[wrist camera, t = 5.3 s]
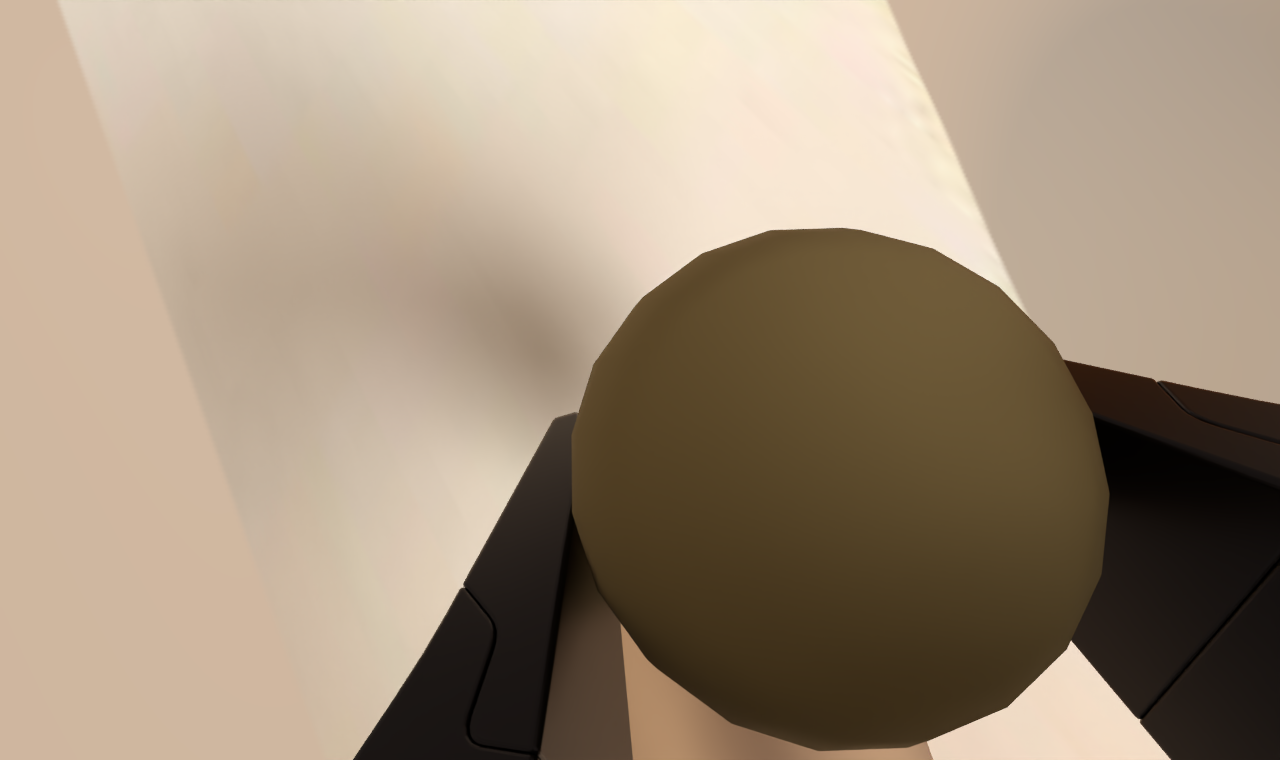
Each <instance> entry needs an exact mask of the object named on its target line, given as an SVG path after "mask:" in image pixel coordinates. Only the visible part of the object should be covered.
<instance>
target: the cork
mask: <svg viewBox="0 0 1280 760" xmlns="http://www.w3.org/2000/svg"><path fill="white" fill-rule="evenodd" d="M571 438H572V514H573V517H574V520H575V523H576V526H577V530H578V533H579V536H580V539H581V542H582V545H583V548H584V551H585V554H586V557H587V560H588V563H589V566H590V569H591V572H592V576H593V579H594V582H595V585H596V588H597V591H598V592H599V593H600V595H601V596H602V598H603V599H604V600H605V602H606V603H607V605H608V606H609V607H610V609H611V610H612V612H613V613H614V614H615V616H616V617H617V619H618V620H619V621H620V623H621V624H622V625H623V627H624V628H625V630H626V631H627V632H628V634H629V635H630V637H631V638H632V639H633V641H634V642H635V644H636V645H637V646H638V648H639V649H640V651H641V652H642V653H643V655H644V656H645V658H646V659H647V660H648V661H649V662H650V663H651V664H652V665H653V666H655V667H656V668H657V669H658V670H659V671H661V672H662V673H663V674H665V675H666V676H667V677H669V678H670V679H671V680H673V681H674V682H675V683H677V684H678V685H680V686H681V687H682V688H684V689H685V690H686V691H688V692H689V693H690V694H692V695H693V696H694V697H696V698H697V699H699V700H700V701H701V702H703V703H704V704H705V705H707V706H708V707H709V708H711V709H712V710H714V711H715V712H716V713H718V714H719V715H720V716H722V717H723V718H724V719H726V720H727V721H728V722H730V723H731V724H734V725H737V726H740V727H743V728H747V729H750V730H753V731H756V732H759V733H762V734H765V735H769V736H772V737H775V738H778V739H781V740H784V741H787V742H791V743H794V744H797V745H800V746H803V747H806V748H810V749H813V750H816V751H840V750H866V749H892V748H909V747H912V746H915V745H917V744H920V743H923V742H926V741H929V740H931V739H934V738H936V737H938V736H941V735H943V734H945V733H948V732H950V731H952V730H955V729H957V728H959V727H962V726H964V725H967V724H969V723H971V722H974V721H976V720H978V719H981V718H983V717H985V716H988V715H990V714H992V713H995V712H997V711H999V710H1002V709H1004V708H1007V707H1008V706H1009V705H1010V704H1011V703H1012V702H1013V701H1014V700H1015V699H1016V698H1017V697H1018V696H1019V695H1020V694H1021V693H1022V692H1023V691H1024V690H1025V689H1026V688H1027V687H1028V686H1029V685H1031V684H1032V683H1033V682H1034V681H1035V680H1036V679H1037V678H1038V677H1039V676H1040V675H1041V674H1042V673H1043V672H1044V671H1045V670H1046V669H1047V668H1048V667H1049V666H1050V665H1051V664H1052V663H1053V662H1054V661H1055V660H1056V659H1057V658H1058V657H1059V656H1060V655H1061V654H1062V653H1063V652H1064V651H1065V650H1066V649H1067V647H1068V645H1069V643H1070V641H1071V639H1072V637H1073V635H1074V632H1075V630H1076V628H1077V626H1078V624H1079V622H1080V620H1081V617H1082V615H1083V613H1084V611H1085V609H1086V607H1087V605H1088V603H1089V600H1090V598H1091V596H1092V594H1093V592H1094V590H1095V588H1096V585H1097V583H1098V581H1099V579H1100V577H1101V574H1102V564H1103V554H1104V544H1105V534H1106V524H1107V514H1108V504H1109V494H1110V493H1109V488H1108V484H1107V479H1106V474H1105V470H1104V465H1103V460H1102V456H1101V451H1100V446H1099V442H1098V437H1097V432H1096V428H1095V423H1094V418H1093V414H1092V412H1091V410H1090V408H1089V406H1088V405H1087V403H1086V401H1085V399H1084V397H1083V395H1082V394H1081V392H1080V390H1079V388H1078V386H1077V384H1076V383H1075V381H1074V379H1073V377H1072V375H1071V373H1070V372H1069V370H1068V368H1067V366H1066V364H1065V362H1064V361H1063V359H1062V357H1061V355H1060V353H1059V351H1058V350H1057V348H1056V346H1055V344H1054V343H1053V342H1052V341H1051V340H1050V339H1049V338H1048V337H1047V335H1046V334H1045V333H1044V332H1043V331H1042V330H1040V328H1038V326H1037V325H1036V324H1035V323H1034V322H1033V321H1032V320H1031V319H1030V318H1029V317H1028V316H1027V315H1026V314H1025V313H1024V312H1023V311H1022V310H1021V309H1020V308H1019V307H1018V306H1017V305H1016V304H1015V303H1014V302H1013V301H1012V300H1011V299H1010V298H1009V297H1008V296H1007V295H1006V294H1005V293H1004V292H1003V291H1002V289H1001V288H1000V287H998V286H997V285H995V284H993V283H991V282H990V281H988V280H986V279H984V278H983V277H981V276H979V275H978V274H976V273H974V272H972V271H971V270H969V269H967V268H966V267H964V266H962V265H960V264H959V263H957V262H955V261H953V260H952V259H950V258H948V257H947V256H945V255H943V254H941V253H940V252H938V251H936V250H935V249H932V248H929V247H925V246H921V245H917V244H913V243H909V242H905V241H901V240H897V239H894V238H890V237H886V236H882V235H878V234H874V233H870V232H866V231H863V230H855V229H847V228H827V229H797V230H770V231H767V232H764V233H761V234H758V235H755V236H752V237H749V238H746V239H743V240H740V241H737V242H734V243H732V244H729V245H726V246H723V247H720V248H717V249H714V250H711V251H708V252H705V253H702V254H701V255H699V256H698V257H697V258H695V259H694V260H693V261H691V262H690V263H688V264H687V265H686V266H684V267H683V268H682V269H680V270H679V271H678V272H676V273H675V274H674V275H672V276H671V277H670V278H668V279H667V280H666V281H664V282H663V283H661V284H660V285H659V286H657V287H656V288H655V289H653V290H652V291H651V292H649V293H648V294H647V295H645V296H644V297H643V298H642V299H641V300H640V301H639V302H638V304H637V305H636V306H635V307H634V308H633V310H632V311H631V313H630V314H629V315H628V317H627V318H626V320H625V321H624V322H623V324H622V325H621V327H620V328H619V329H618V331H617V332H616V334H615V335H614V336H613V338H612V339H611V341H610V342H609V344H608V345H607V346H606V348H605V349H604V351H603V352H602V353H601V355H600V356H599V358H598V359H597V360H596V362H595V363H594V365H593V368H592V371H591V374H590V378H589V381H588V384H587V387H586V390H585V393H584V397H583V400H582V403H581V406H580V409H579V413H578V416H577V419H576V422H575V425H574V429H573V432H572V435H571Z"/></svg>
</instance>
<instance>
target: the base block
mask: <svg viewBox="0 0 1280 760" xmlns="http://www.w3.org/2000/svg"><path fill="white" fill-rule="evenodd" d="M621 634H622V645H623V656H624V667H625V678H626V689H627V700H628V710H629V721H630V732H631V743H632V754H633V760H933V758H932V756H931V753H930V750H929V747H928V744H927V741H926V742H923V743H920V744H917V745H915V746H912V747H909V748H892V749H866V750H840V751H816V750H813V749H810V748H806V747H803V746H800V745H797V744H794V743H791V742H787V741H784V740H781V739H778V738H775V737H772V736H769V735H765V734H762V733H759V732H756V731H753V730H750V729H747V728H743V727H740V726H737V725H734V724H731V723H730V722H728V721H727V720H726V719H724V718H723V717H722V716H720V715H719V714H718V713H716V712H715V711H714V710H712V709H711V708H709V707H708V706H707V705H705V704H704V703H703V702H701V701H700V700H699V699H697V698H696V697H694V696H693V695H692V694H690V693H689V692H688V691H686V690H685V689H684V688H682V687H681V686H680V685H678V684H677V683H675V682H674V681H673V680H671V679H670V678H669V677H667V676H666V675H665V674H663V673H662V672H661V671H659V670H658V669H657V668H656V667H655V666H653V665H652V664H651V663H650V662H649V661H648V660H647V659H646V658H645V656H644V655H643V653H642V652H641V651H640V649H639V648H638V646H637V645H636V644H635V642H634V641H633V639H632V638H631V637H630V635H629V634H628V632H627V631H626V630H625V628H624V627H623V625H622V624H621Z"/></svg>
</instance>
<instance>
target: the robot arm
mask: <svg viewBox="0 0 1280 760" xmlns="http://www.w3.org/2000/svg"><path fill="white" fill-rule="evenodd" d="M1063 361H1064V362H1065V364H1066V366H1067V368H1068V370H1069V372H1070V373H1071V375H1072V377H1073V379H1074V381H1075V383H1076V384H1077V386H1078V388H1079V390H1080V392H1081V394H1082V395H1083V397H1084V399H1085V401H1086V403H1087V405H1088V406H1089V408H1090V410H1091V412H1092V414H1093V418H1094V423H1095V428H1096V432H1097V437H1098V442H1099V446H1100V451H1101V456H1102V460H1103V465H1104V470H1105V474H1106V479H1107V484H1108V488H1109V493H1110V494H1109V504H1108V514H1107V524H1106V534H1105V544H1104V554H1103V564H1102V574H1101V577H1100V579H1099V581H1098V583H1097V585H1096V588H1095V590H1094V592H1093V594H1092V596H1091V598H1090V600H1089V603H1088V605H1087V607H1086V609H1085V611H1084V613H1083V615H1082V617H1081V620H1080V622H1079V624H1078V626H1077V628H1076V630H1075V632H1074V635H1073V637H1072V639H1071V641H1072V642H1073V643H1074V644H1075V645H1076V647H1077V648H1078V649H1079V650H1080V651H1081V653H1082V654H1083V655H1084V656H1085V657H1086V659H1087V660H1088V661H1089V662H1090V663H1091V665H1092V666H1093V667H1094V668H1095V669H1096V670H1097V672H1098V673H1099V674H1100V675H1101V676H1102V678H1103V679H1104V680H1105V681H1106V682H1107V684H1108V685H1109V686H1110V687H1111V688H1112V689H1113V691H1114V692H1115V693H1116V694H1117V695H1118V697H1119V698H1120V699H1121V700H1122V701H1123V703H1124V704H1125V705H1126V706H1127V707H1128V708H1129V710H1130V711H1131V712H1132V713H1133V714H1134V716H1135V717H1136V718H1138V719H1141V720H1140V723H1141V725H1142V726H1143V727H1144V728H1145V729H1146V731H1147V732H1148V733H1149V734H1150V735H1151V736H1152V738H1153V739H1154V740H1155V741H1156V742H1157V744H1158V745H1159V746H1160V747H1161V748H1162V750H1163V751H1164V752H1165V753H1166V754H1167V755H1168V757H1169V758H1170V759H1171V760H1280V404H1275V403H1270V402H1264V401H1258V400H1254V399H1249V398H1244V397H1239V396H1234V395H1229V394H1224V393H1219V392H1214V391H1209V390H1204V389H1199V388H1194V387H1190V386H1185V385H1180V384H1176V383H1171V382H1167V381H1158V382H1156V381H1155V380H1154V379H1152V378H1147V377H1142V376H1137V375H1133V374H1128V373H1124V372H1119V371H1114V370H1109V369H1104V368H1100V367H1095V366H1091V365H1086V364H1081V363H1077V362H1072V361H1067V360H1063ZM577 416H578V413H577V412H574V413H571V414H567V415H564V416H560V417H557V418H555V419H554V420H553V422H552V423H551V425H550V427H549V429H548V431H547V432H546V434H545V436H544V438H543V440H542V441H541V443H540V445H539V447H538V449H537V451H536V452H535V454H534V456H533V458H532V460H531V461H530V463H529V465H528V467H527V469H526V471H525V472H524V474H523V476H522V478H521V480H520V481H519V483H518V485H517V487H516V489H515V490H514V492H513V494H512V496H511V498H510V500H509V501H508V503H507V505H506V507H505V509H504V510H503V512H502V514H501V516H500V518H499V520H498V521H497V523H496V525H495V527H494V529H493V530H492V532H491V534H490V536H489V538H488V539H487V541H486V543H485V545H484V547H483V549H482V550H481V552H480V554H479V556H478V558H477V559H476V561H475V563H474V565H473V567H472V568H471V570H470V572H469V574H468V576H467V578H466V579H465V581H464V583H463V585H464V587H465V588H461V589H460V590H459V592H458V593H457V595H456V597H455V599H454V601H453V602H452V604H451V606H450V608H449V610H448V612H447V613H446V615H445V617H444V618H443V620H442V622H441V624H440V625H439V627H438V629H437V630H436V632H435V634H434V636H433V637H432V639H431V641H430V642H429V644H428V646H427V648H426V649H425V651H424V653H423V654H422V656H421V657H420V659H419V661H418V662H417V664H416V665H415V667H414V668H413V670H412V671H411V673H410V675H409V676H408V678H407V679H406V681H405V682H404V684H403V685H402V687H401V688H400V690H399V692H398V693H397V695H396V696H395V698H394V699H393V701H392V702H391V704H390V705H389V707H388V708H387V710H386V711H385V713H384V714H383V716H382V717H381V719H380V720H379V722H378V723H377V725H376V726H375V728H374V729H373V731H372V732H371V734H370V735H369V737H368V738H367V740H366V741H365V743H364V744H363V746H362V747H361V749H360V750H359V752H358V753H357V754H356V756H355V757H354V759H353V760H633V754H632V743H631V732H630V721H629V710H628V700H627V689H626V678H625V667H624V656H623V645H622V634H621V623H620V621H619V620H618V619H617V617H616V616H615V614H614V613H613V612H612V610H611V609H610V607H609V606H608V605H607V603H606V602H605V600H604V599H603V598H602V596H601V595H600V593H599V592H598V591H597V588H596V585H595V582H594V579H593V576H592V572H591V569H590V566H589V563H588V560H587V557H586V554H585V551H584V548H583V545H582V542H581V539H580V536H579V533H578V530H577V526H576V523H575V520H574V517H573V514H572V438H571V435H572V432H573V429H574V425H575V422H576V419H577Z"/></svg>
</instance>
